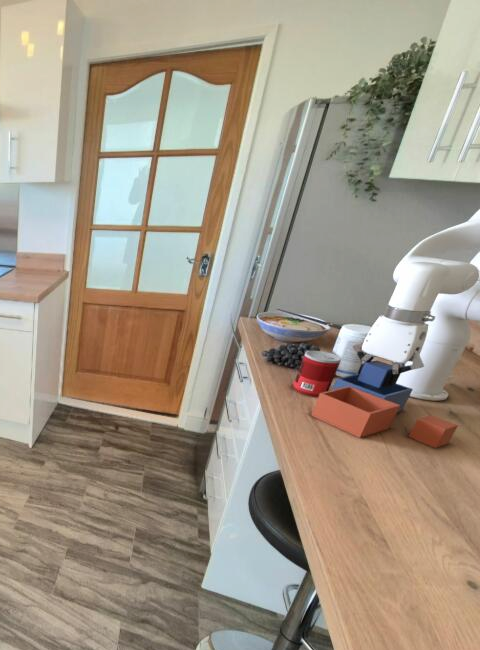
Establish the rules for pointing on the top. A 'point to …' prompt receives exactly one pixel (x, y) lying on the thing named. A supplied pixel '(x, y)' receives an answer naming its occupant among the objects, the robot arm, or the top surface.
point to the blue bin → (377, 390)
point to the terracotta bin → (355, 411)
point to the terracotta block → (433, 431)
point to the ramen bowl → (293, 326)
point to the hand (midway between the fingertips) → (374, 381)
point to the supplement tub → (349, 348)
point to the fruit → (289, 354)
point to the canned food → (316, 372)
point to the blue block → (375, 373)
